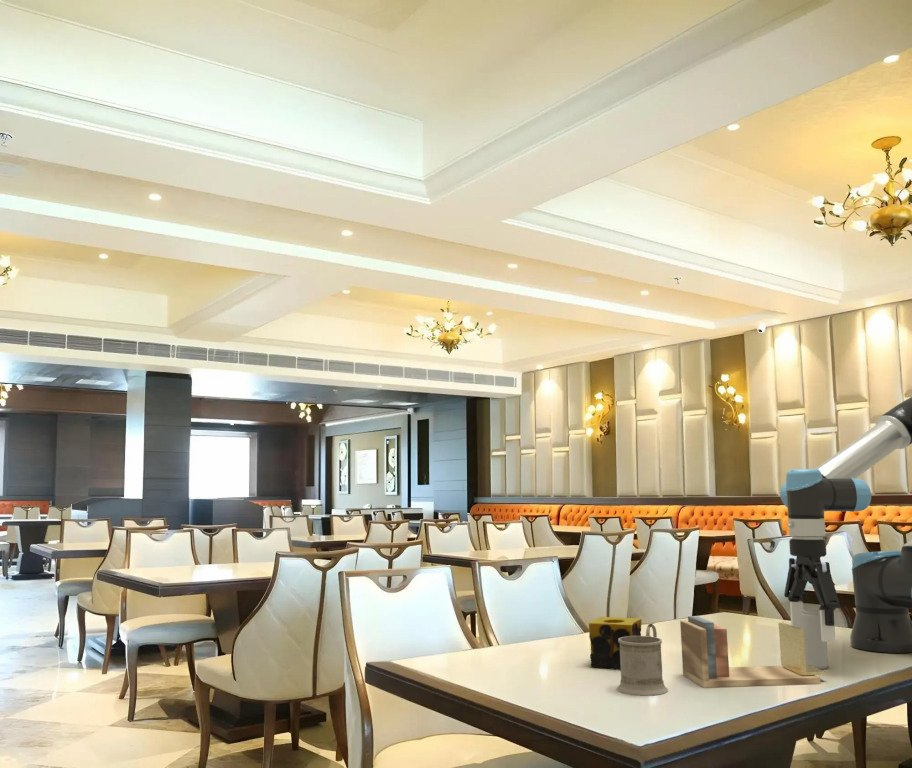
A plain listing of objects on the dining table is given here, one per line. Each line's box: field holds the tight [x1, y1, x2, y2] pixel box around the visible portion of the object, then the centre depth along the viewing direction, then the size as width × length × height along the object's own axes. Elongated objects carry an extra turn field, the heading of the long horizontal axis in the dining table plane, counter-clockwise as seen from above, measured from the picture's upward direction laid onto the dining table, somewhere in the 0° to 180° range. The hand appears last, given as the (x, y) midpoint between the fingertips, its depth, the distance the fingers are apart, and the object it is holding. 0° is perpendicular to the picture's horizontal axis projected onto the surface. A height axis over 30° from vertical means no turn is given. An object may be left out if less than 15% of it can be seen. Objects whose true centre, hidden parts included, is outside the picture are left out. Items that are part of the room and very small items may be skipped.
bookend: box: [778, 622, 826, 676], centre depth 171 cm, size 5×9×9 cm, turn 4°
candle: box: [588, 616, 642, 671], centre depth 187 cm, size 10×10×10 cm
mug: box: [616, 622, 669, 697], centre depth 165 cm, size 14×10×12 cm
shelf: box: [679, 615, 821, 689], centre depth 171 cm, size 24×12×12 cm, turn 94°
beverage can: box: [801, 609, 829, 670], centre depth 181 cm, size 5×5×12 cm
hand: (812, 636), depth 181 cm, fingers open, 13 cm apart
